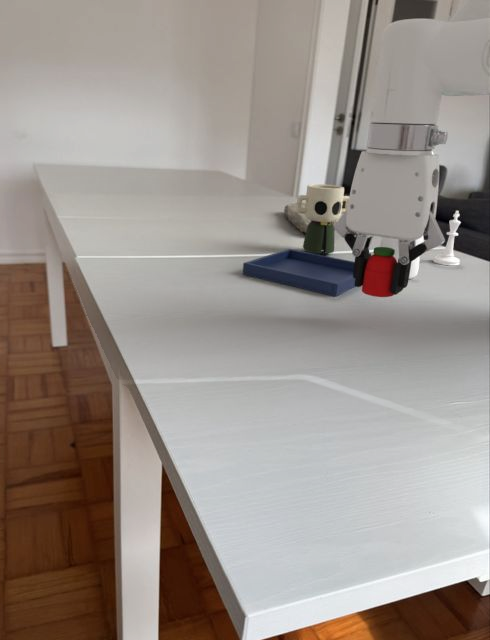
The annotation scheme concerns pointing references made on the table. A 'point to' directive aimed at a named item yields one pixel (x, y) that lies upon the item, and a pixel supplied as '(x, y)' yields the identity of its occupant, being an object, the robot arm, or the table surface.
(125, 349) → the table surface
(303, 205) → the elongated rock
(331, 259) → the tray
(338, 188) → the character mug
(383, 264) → the red sauce bottle
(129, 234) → the table surface
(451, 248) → the chess piece
